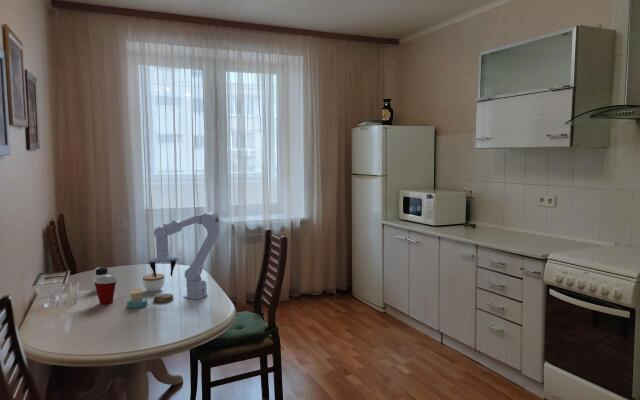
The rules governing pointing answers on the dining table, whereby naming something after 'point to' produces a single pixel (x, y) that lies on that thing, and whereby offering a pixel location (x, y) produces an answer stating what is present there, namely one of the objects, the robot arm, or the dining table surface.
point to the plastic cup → (105, 289)
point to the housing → (136, 296)
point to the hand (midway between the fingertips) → (163, 276)
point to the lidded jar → (153, 282)
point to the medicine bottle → (100, 275)
